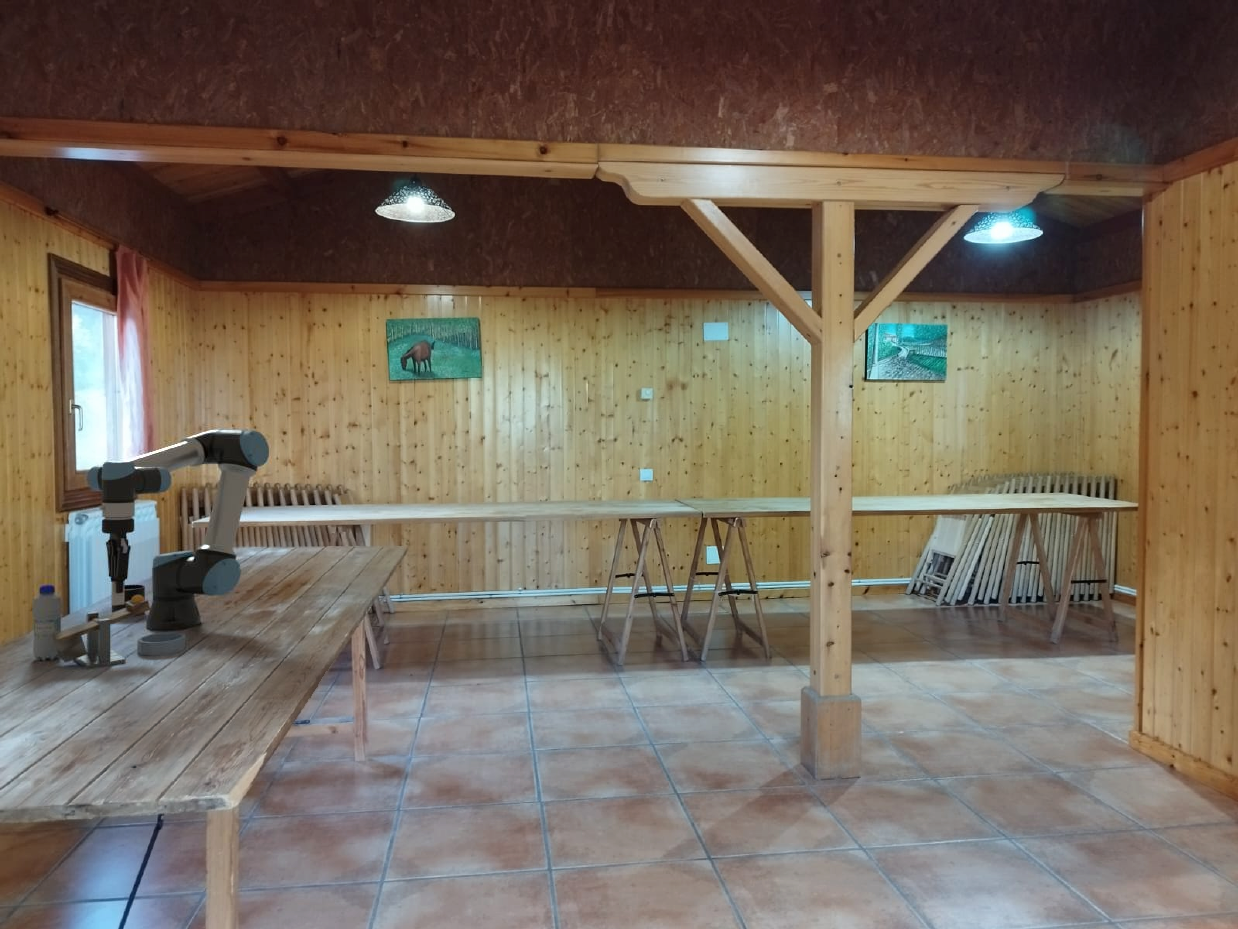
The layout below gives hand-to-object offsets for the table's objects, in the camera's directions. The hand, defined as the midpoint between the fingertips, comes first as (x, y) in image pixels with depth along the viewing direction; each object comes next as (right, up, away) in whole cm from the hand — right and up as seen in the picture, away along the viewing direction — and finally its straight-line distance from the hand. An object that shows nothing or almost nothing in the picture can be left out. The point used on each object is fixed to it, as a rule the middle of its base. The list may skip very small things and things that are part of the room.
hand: (117, 604), depth 220 cm
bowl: (+7, -14, +9) cm, 18 cm away
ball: (+3, 0, +4) cm, 5 cm away
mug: (-28, -12, +51) cm, 59 cm away
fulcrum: (-4, -15, -3) cm, 15 cm away
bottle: (-17, -14, -2) cm, 23 cm away
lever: (-2, -10, -1) cm, 10 cm away
